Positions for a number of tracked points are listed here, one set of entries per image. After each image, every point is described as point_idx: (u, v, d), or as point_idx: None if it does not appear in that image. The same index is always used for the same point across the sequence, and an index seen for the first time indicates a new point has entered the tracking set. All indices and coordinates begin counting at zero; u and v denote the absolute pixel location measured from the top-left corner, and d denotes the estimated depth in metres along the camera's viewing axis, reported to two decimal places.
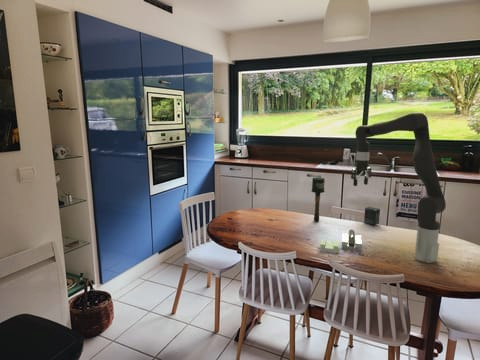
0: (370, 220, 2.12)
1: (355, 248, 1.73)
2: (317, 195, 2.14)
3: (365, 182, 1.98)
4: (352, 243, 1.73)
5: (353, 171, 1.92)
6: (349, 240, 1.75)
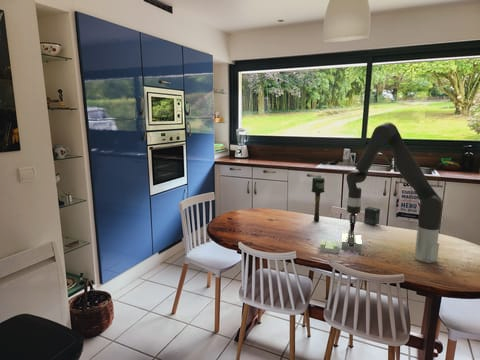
0: (370, 220, 2.12)
1: (355, 248, 1.73)
2: (317, 195, 2.14)
3: None
4: (352, 243, 1.73)
5: None
6: (348, 241, 1.75)
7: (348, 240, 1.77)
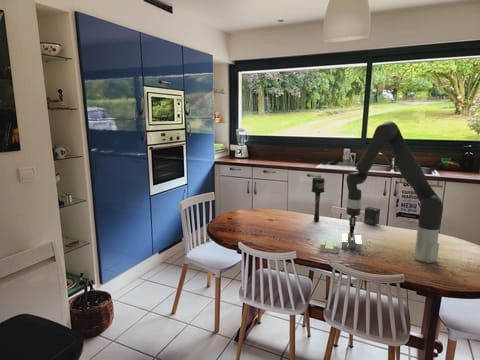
0: (370, 220, 2.12)
1: None
2: (317, 195, 2.14)
3: None
4: (353, 246, 1.69)
5: None
6: (349, 244, 1.71)
7: (349, 243, 1.73)
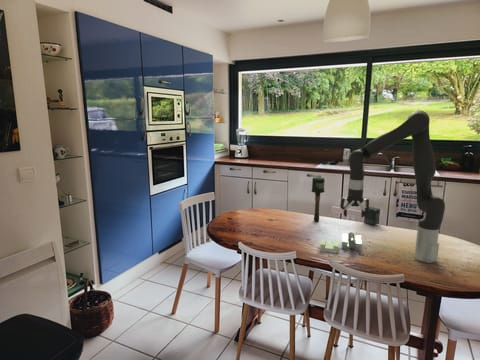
0: (370, 220, 2.12)
1: None
2: (317, 195, 2.14)
3: None
4: (353, 247, 1.69)
5: None
6: (349, 244, 1.71)
7: (349, 243, 1.72)
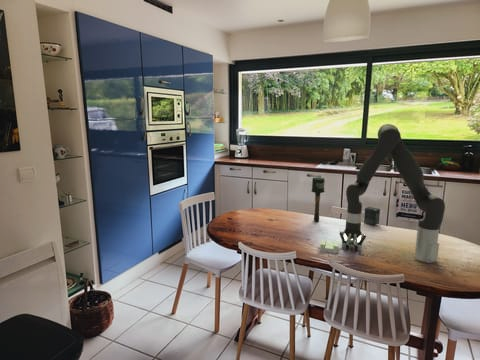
0: (370, 220, 2.12)
1: None
2: (317, 195, 2.14)
3: (348, 248, 1.72)
4: (352, 246, 1.69)
5: None
6: None
7: None
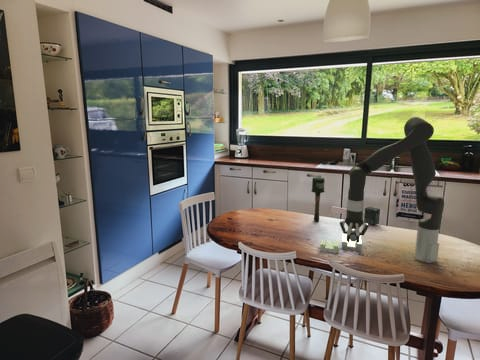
0: (370, 220, 2.12)
1: (355, 248, 1.73)
2: (317, 195, 2.14)
3: (349, 239, 1.57)
4: (353, 237, 1.54)
5: None
6: (350, 235, 1.56)
7: None
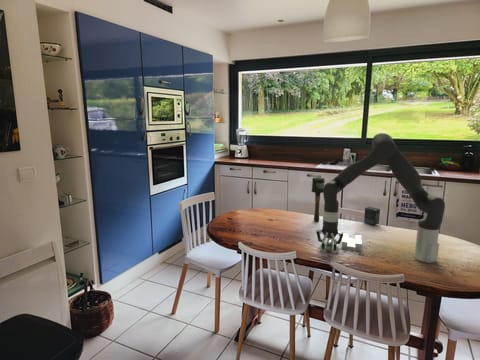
0: (370, 220, 2.12)
1: (355, 248, 1.73)
2: (317, 195, 2.14)
3: (324, 246, 1.69)
4: (329, 249, 1.66)
5: (342, 235, 1.65)
6: (326, 246, 1.68)
7: (326, 246, 1.70)
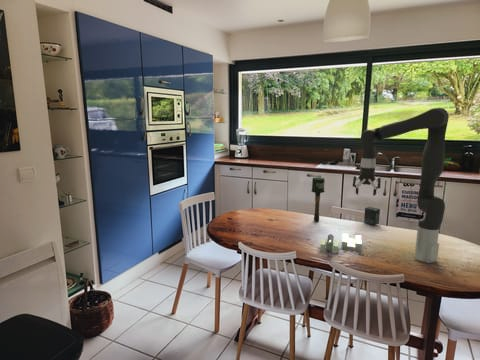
0: (370, 220, 2.12)
1: (355, 248, 1.73)
2: (317, 195, 2.14)
3: None
4: (329, 249, 1.66)
5: None
6: (326, 246, 1.68)
7: (326, 246, 1.70)
